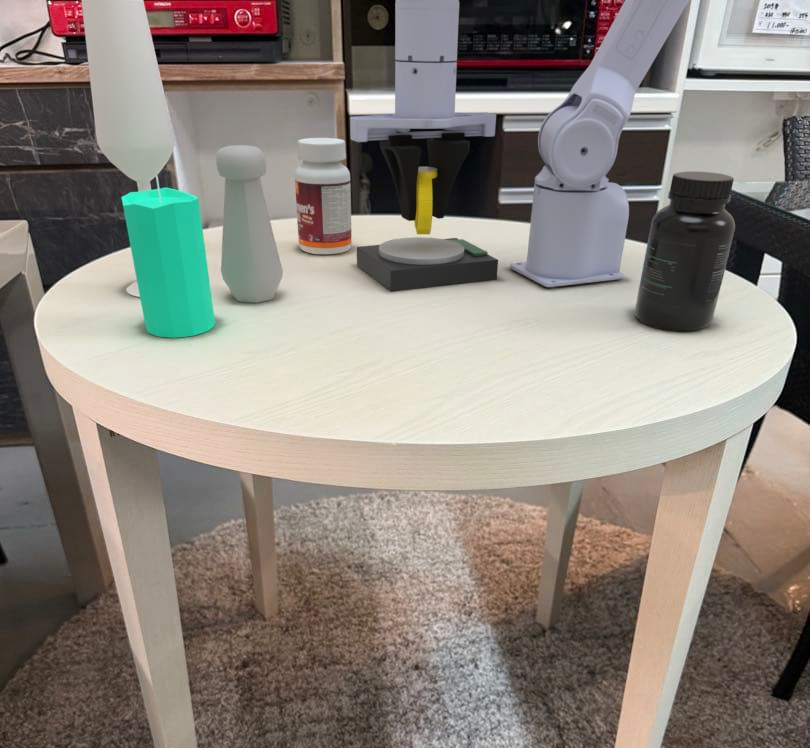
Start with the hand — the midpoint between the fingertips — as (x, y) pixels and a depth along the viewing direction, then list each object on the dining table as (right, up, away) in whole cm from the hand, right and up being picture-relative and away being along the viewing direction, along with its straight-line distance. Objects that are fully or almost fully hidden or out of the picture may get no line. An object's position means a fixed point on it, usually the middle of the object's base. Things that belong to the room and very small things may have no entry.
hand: (422, 217), depth 78 cm
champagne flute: (-26, -8, -2) cm, 27 cm away
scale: (0, -4, +3) cm, 6 cm away
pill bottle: (-11, +1, +11) cm, 16 cm away
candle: (-21, -14, -11) cm, 28 cm away
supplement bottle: (+23, -13, -8) cm, 28 cm away
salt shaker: (-16, -10, -4) cm, 19 cm away
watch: (0, -1, +1) cm, 2 cm away
